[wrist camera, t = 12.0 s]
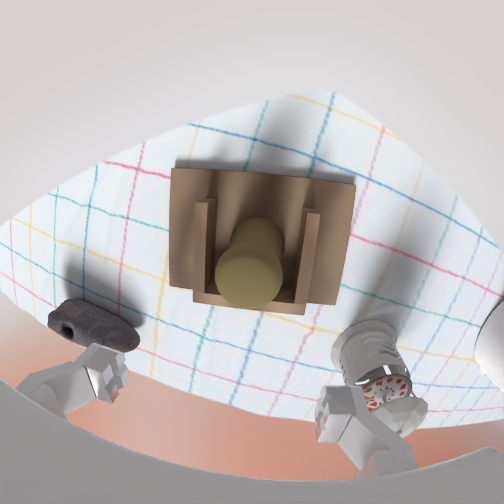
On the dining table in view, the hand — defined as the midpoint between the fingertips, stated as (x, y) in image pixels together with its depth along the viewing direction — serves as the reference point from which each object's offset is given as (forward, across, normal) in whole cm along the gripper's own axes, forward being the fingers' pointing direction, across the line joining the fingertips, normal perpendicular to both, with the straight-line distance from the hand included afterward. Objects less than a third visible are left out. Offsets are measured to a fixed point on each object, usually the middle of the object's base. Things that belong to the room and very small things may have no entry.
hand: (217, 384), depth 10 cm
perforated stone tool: (+22, +22, +14) cm, 35 cm away
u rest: (+22, 0, 0) cm, 22 cm away
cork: (+22, 0, 0) cm, 22 cm away
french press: (+23, -17, +14) cm, 31 cm away
